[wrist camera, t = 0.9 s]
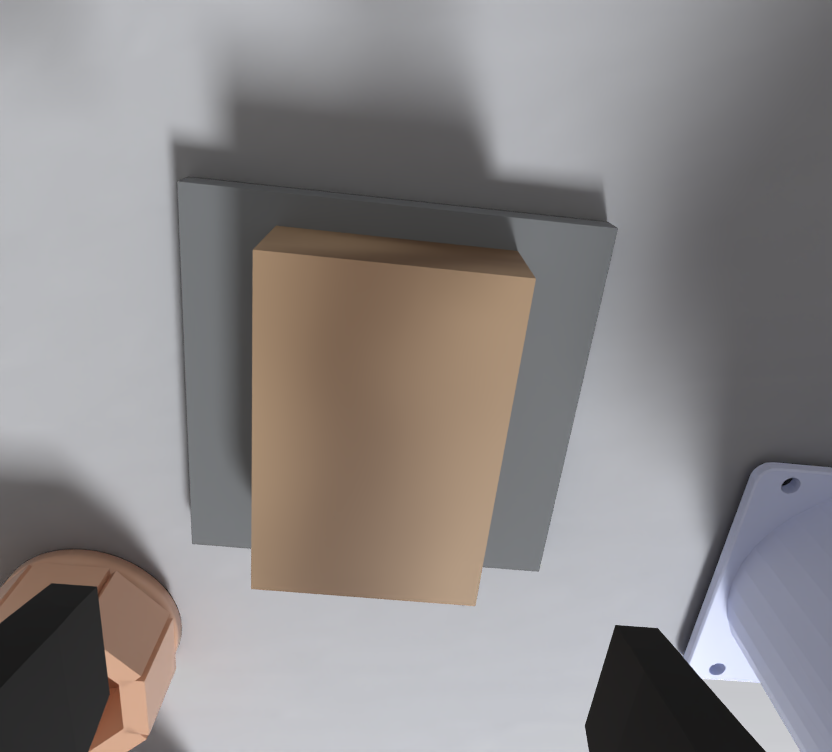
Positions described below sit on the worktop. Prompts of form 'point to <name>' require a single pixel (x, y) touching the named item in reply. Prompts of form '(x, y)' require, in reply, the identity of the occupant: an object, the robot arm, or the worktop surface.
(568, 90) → the worktop surface
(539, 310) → the mat
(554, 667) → the worktop surface
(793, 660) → the robot arm
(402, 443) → the tan cardboard box
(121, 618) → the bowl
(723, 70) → the worktop surface
